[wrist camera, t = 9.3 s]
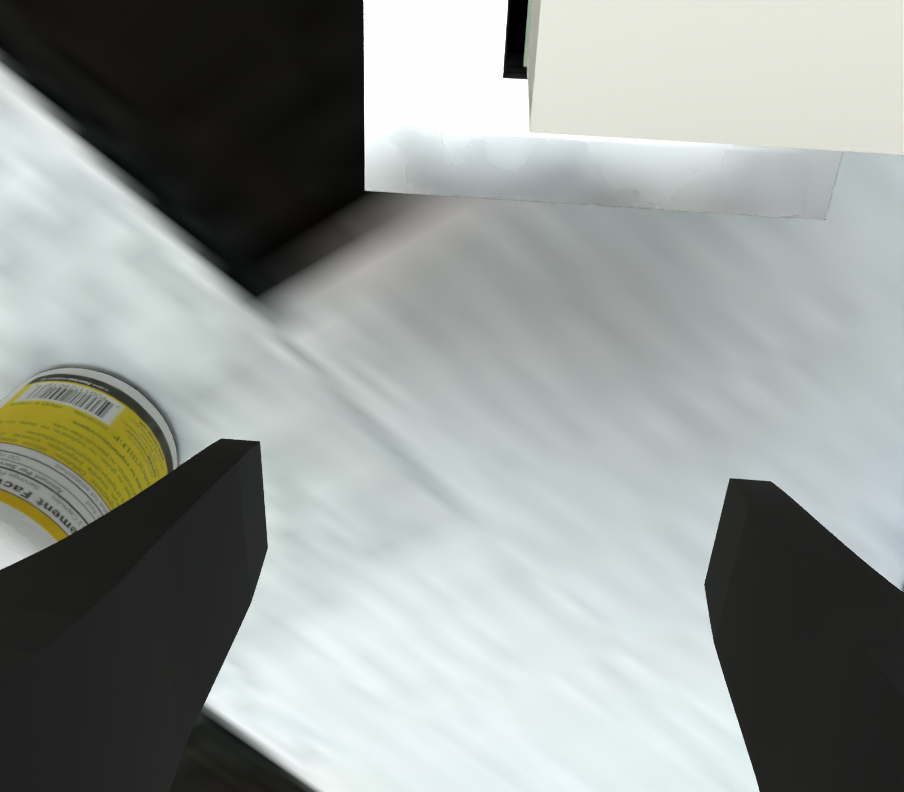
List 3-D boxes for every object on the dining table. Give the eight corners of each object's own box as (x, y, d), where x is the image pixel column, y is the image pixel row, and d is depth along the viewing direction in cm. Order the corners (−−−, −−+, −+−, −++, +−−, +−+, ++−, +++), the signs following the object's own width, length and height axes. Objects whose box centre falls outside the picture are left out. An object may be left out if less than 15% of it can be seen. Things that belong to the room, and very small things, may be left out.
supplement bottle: (83, 535, 27) (-123, 804, 18) (-28, 403, 25) (-319, 635, 16) (218, 480, 26) (62, 742, 17) (112, 333, 24) (-126, 548, 15)
